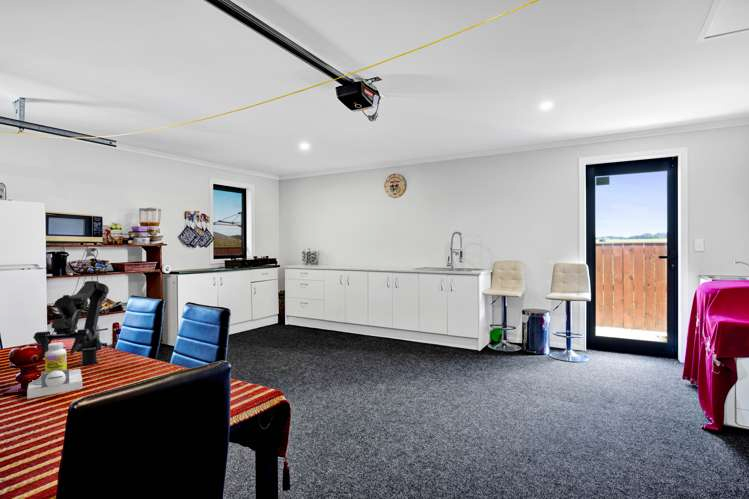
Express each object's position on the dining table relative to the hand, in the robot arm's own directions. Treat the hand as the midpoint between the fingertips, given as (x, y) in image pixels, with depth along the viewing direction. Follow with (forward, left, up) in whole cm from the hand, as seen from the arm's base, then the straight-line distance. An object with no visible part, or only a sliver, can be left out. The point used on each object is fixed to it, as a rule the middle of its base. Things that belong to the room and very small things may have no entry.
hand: (57, 355), depth 158 cm
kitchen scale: (+1, -1, -12) cm, 12 cm away
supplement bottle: (+1, 0, -8) cm, 8 cm away
